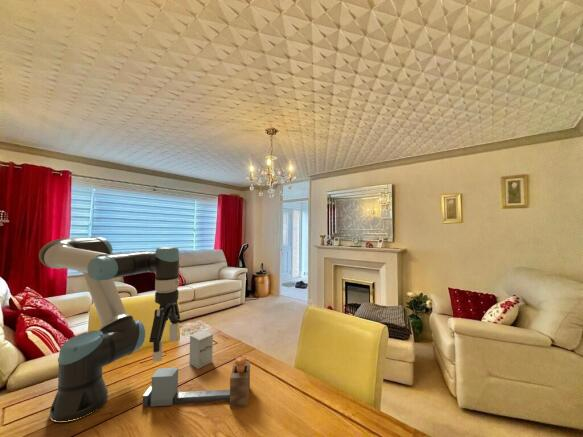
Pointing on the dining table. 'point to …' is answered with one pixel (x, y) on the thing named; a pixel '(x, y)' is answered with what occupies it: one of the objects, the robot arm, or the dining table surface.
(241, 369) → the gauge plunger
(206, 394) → the rail
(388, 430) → the dining table surface
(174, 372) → the block
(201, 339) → the supplement box
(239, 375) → the end block
